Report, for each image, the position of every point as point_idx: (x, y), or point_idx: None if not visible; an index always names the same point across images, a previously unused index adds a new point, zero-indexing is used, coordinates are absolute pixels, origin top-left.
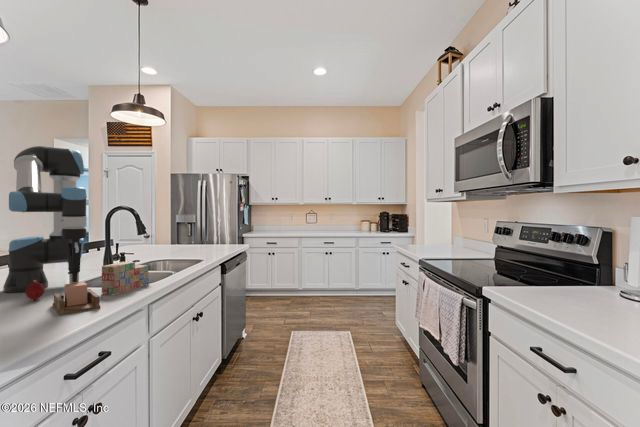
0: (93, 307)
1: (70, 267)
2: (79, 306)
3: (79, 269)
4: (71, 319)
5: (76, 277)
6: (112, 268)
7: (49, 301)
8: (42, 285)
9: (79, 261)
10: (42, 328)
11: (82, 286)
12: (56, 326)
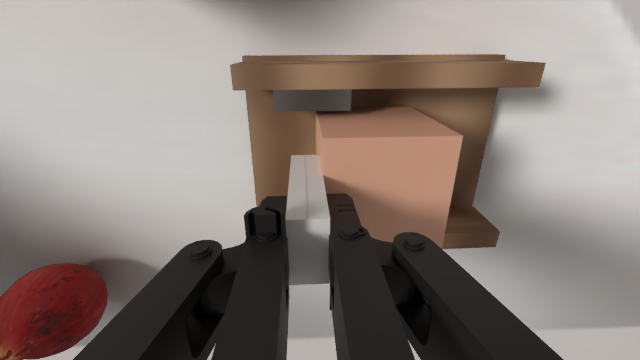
0: (495, 89)
1: (287, 328)
2: None
3: (443, 254)
4: (559, 185)
5: (355, 218)
6: None
7: (151, 227)
8: (27, 303)
9: (543, 356)
10: (577, 263)
11: (452, 164)
12: (598, 231)
